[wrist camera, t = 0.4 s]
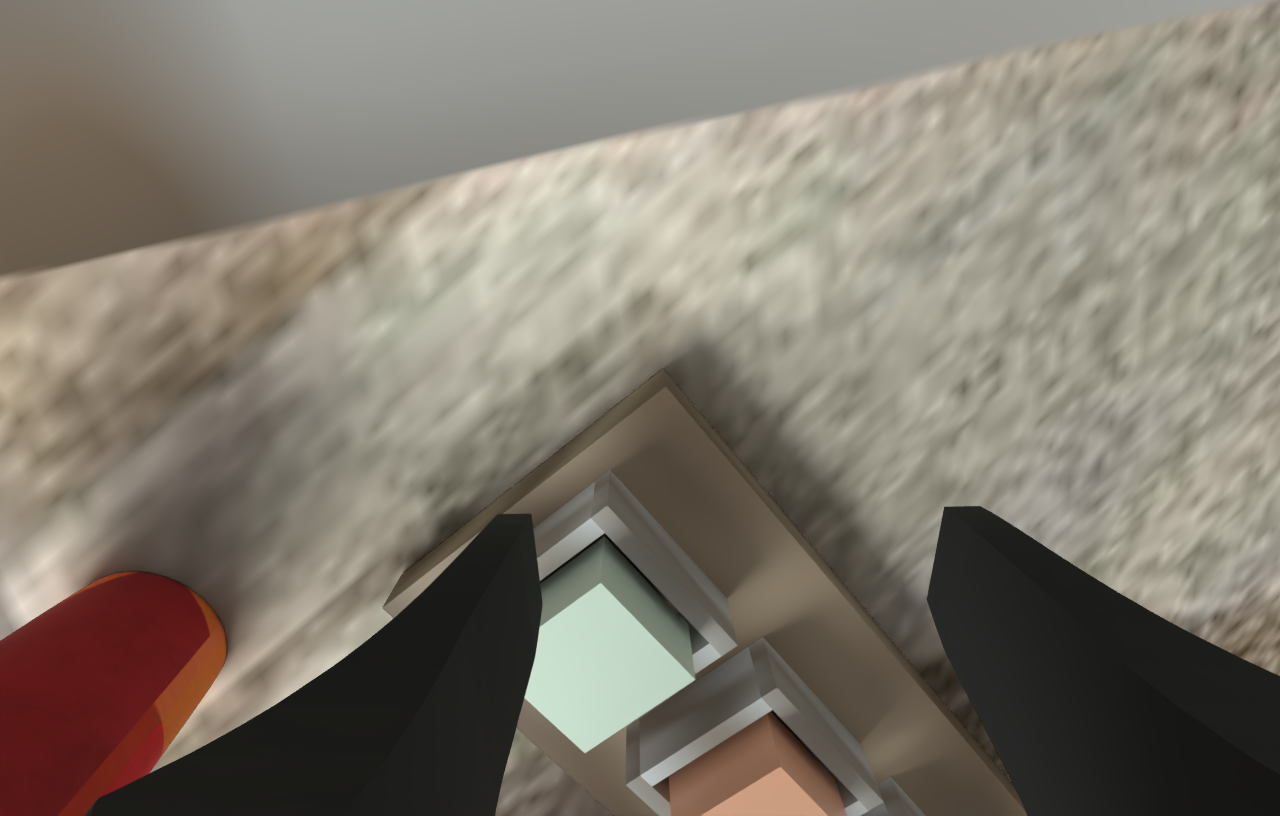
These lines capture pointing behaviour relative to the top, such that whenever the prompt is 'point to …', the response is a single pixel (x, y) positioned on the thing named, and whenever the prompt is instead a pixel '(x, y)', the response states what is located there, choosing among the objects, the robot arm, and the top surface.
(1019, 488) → the top surface
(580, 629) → the sage button
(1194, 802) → the robot arm
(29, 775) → the paper cup
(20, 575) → the top surface
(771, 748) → the terracotta button
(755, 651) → the button board
